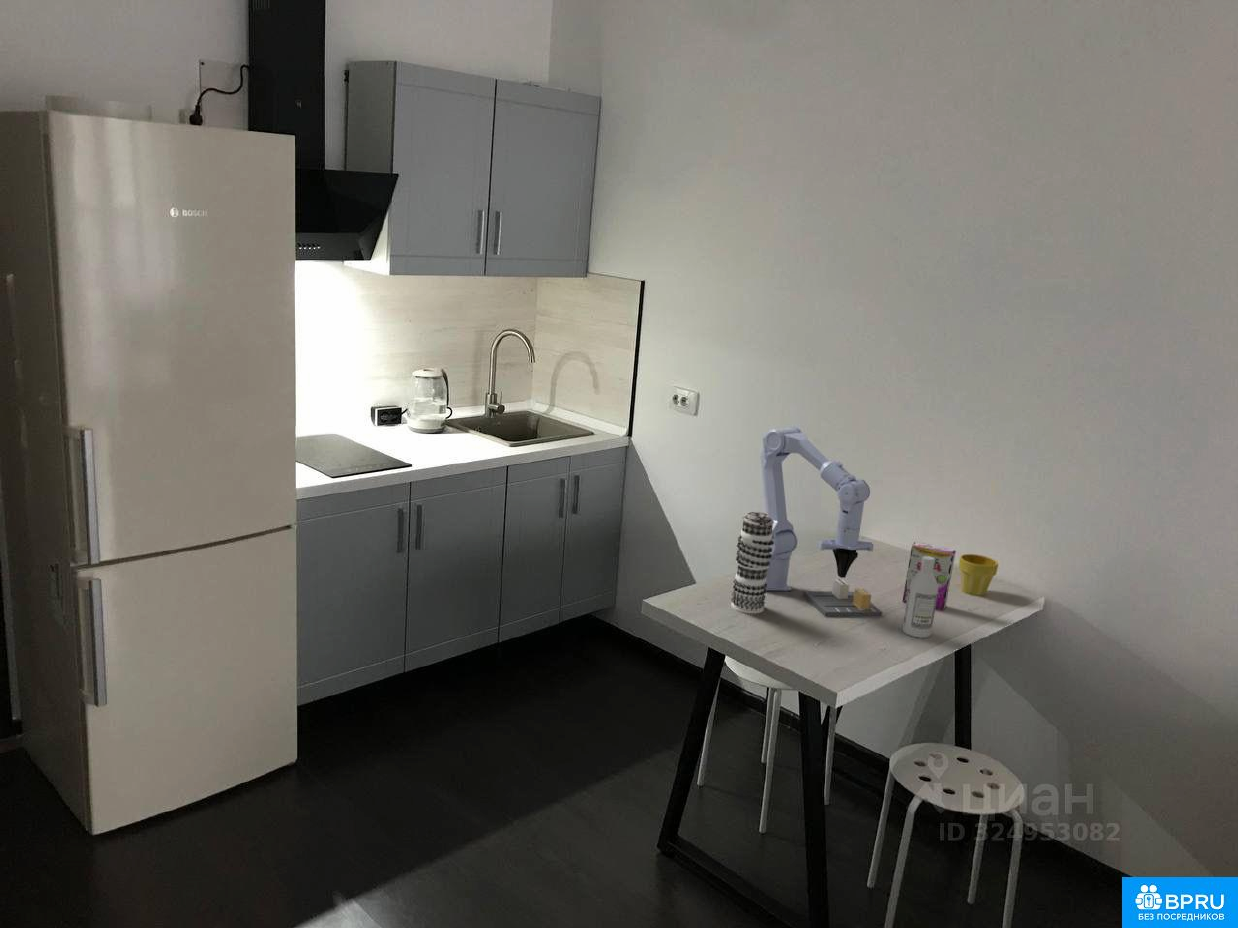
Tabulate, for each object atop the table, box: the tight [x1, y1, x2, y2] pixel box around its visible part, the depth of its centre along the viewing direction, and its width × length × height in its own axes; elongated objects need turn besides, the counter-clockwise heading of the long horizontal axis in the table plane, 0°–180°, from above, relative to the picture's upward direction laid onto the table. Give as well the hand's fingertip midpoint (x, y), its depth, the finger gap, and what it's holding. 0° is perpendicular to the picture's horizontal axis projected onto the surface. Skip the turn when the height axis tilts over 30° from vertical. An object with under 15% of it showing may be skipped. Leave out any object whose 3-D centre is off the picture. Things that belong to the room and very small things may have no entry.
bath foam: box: [902, 556, 938, 639], centre depth 258 cm, size 7×7×20 cm
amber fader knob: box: [853, 588, 872, 610], centre depth 272 cm, size 2×4×4 cm, turn 12°
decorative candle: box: [730, 511, 774, 614], centre depth 265 cm, size 9×9×25 cm
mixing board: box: [802, 590, 883, 618], centre depth 275 cm, size 16×15×1 cm
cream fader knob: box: [831, 578, 850, 599], centre depth 278 cm, size 2×4×4 cm, turn 12°
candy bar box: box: [902, 541, 957, 612], centre depth 280 cm, size 11×5×16 cm, turn 65°
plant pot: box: [958, 553, 999, 597], centre depth 295 cm, size 10×10×10 cm
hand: (841, 576), depth 269 cm, fingers closed
